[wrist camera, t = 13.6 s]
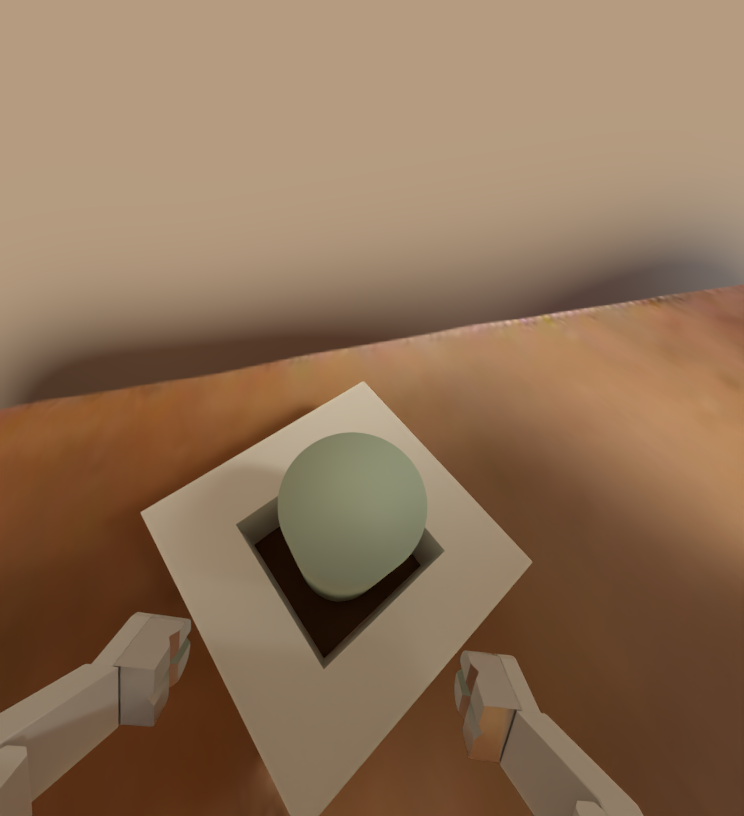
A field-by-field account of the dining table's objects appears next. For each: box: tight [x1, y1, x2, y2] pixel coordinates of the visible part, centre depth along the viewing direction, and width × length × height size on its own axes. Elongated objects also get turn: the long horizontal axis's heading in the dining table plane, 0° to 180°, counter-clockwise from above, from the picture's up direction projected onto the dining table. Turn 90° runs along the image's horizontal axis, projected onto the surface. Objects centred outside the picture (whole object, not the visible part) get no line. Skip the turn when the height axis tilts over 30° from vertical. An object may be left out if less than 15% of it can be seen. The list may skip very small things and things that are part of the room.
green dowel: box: [277, 432, 428, 602], centre depth 14 cm, size 4×4×10 cm
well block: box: [140, 381, 532, 816], centre depth 17 cm, size 12×12×4 cm
